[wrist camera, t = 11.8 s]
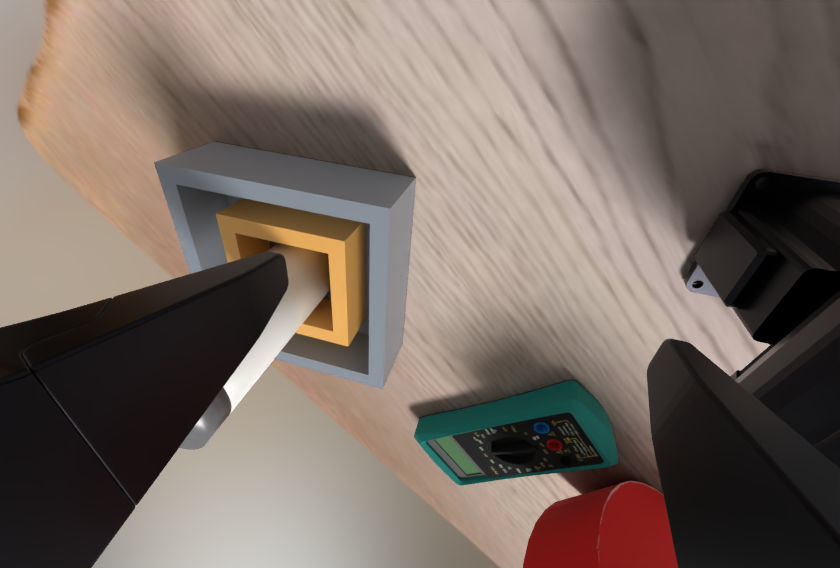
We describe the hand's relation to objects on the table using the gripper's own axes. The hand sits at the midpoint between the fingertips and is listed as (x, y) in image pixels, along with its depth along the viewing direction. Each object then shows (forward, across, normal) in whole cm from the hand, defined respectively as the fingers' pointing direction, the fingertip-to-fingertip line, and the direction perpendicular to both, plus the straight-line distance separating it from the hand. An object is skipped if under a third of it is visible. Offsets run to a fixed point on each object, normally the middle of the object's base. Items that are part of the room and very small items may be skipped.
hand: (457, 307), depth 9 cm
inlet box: (+13, +11, +8) cm, 19 cm away
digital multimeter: (+14, -5, +22) cm, 26 cm away
